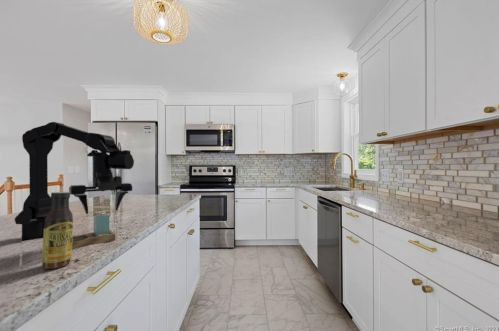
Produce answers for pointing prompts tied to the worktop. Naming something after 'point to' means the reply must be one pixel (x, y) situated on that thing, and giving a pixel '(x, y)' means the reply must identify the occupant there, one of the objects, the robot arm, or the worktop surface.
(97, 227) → the plug
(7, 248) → the worktop surface
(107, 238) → the socket box
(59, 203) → the sauce bottle
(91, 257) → the worktop surface
